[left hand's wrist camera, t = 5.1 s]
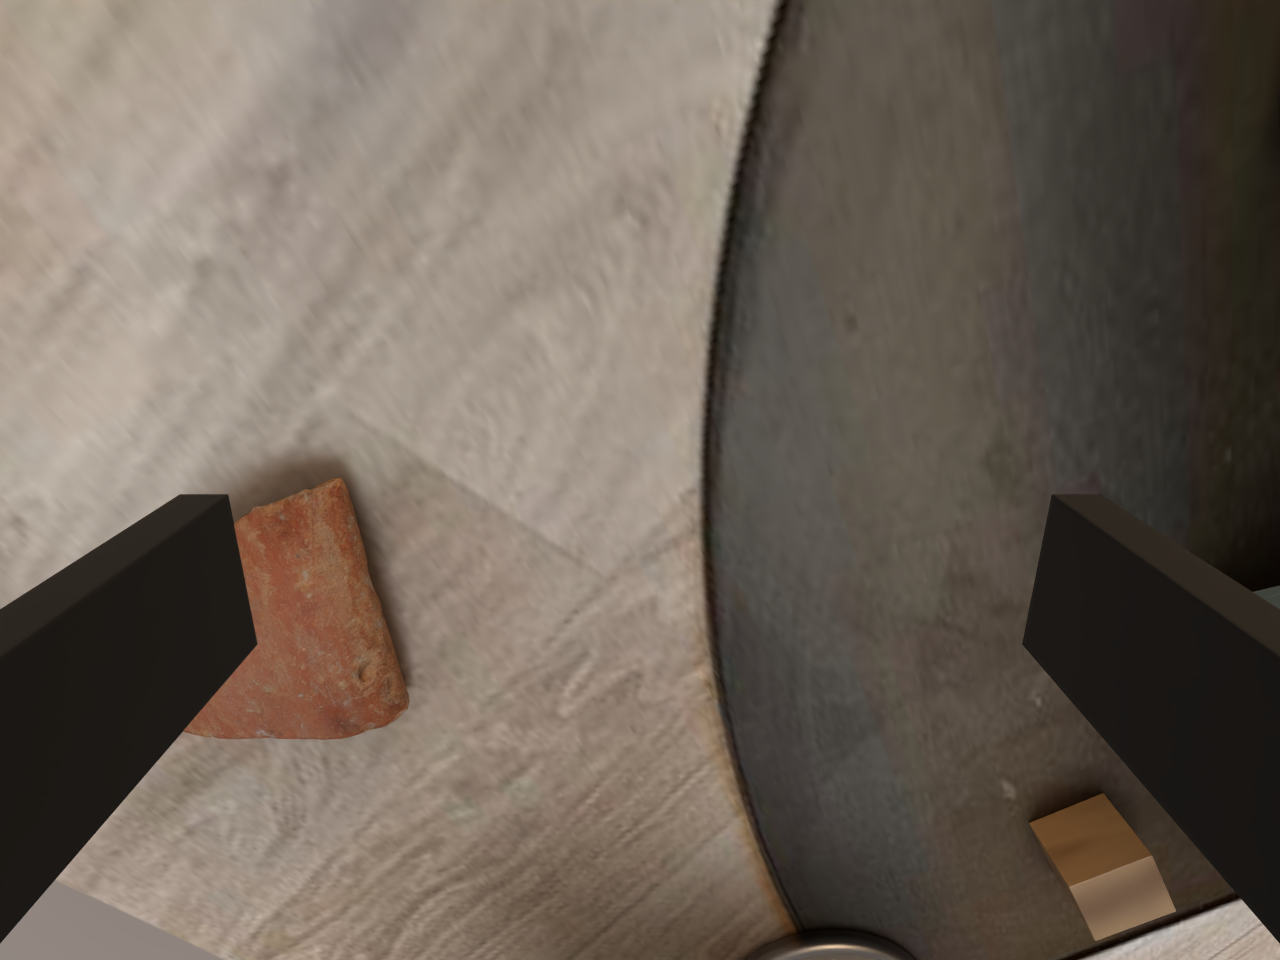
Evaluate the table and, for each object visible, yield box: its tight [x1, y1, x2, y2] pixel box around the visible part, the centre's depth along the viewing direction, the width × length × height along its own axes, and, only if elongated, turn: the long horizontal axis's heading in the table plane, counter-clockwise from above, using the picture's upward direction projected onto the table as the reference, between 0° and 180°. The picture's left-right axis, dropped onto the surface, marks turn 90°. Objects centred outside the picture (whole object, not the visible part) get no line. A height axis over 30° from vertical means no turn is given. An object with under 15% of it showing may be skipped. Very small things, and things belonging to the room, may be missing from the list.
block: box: [1029, 793, 1176, 941], centre depth 48 cm, size 5×5×5 cm
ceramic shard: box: [183, 478, 409, 740], centre depth 42 cm, size 15×6×15 cm
